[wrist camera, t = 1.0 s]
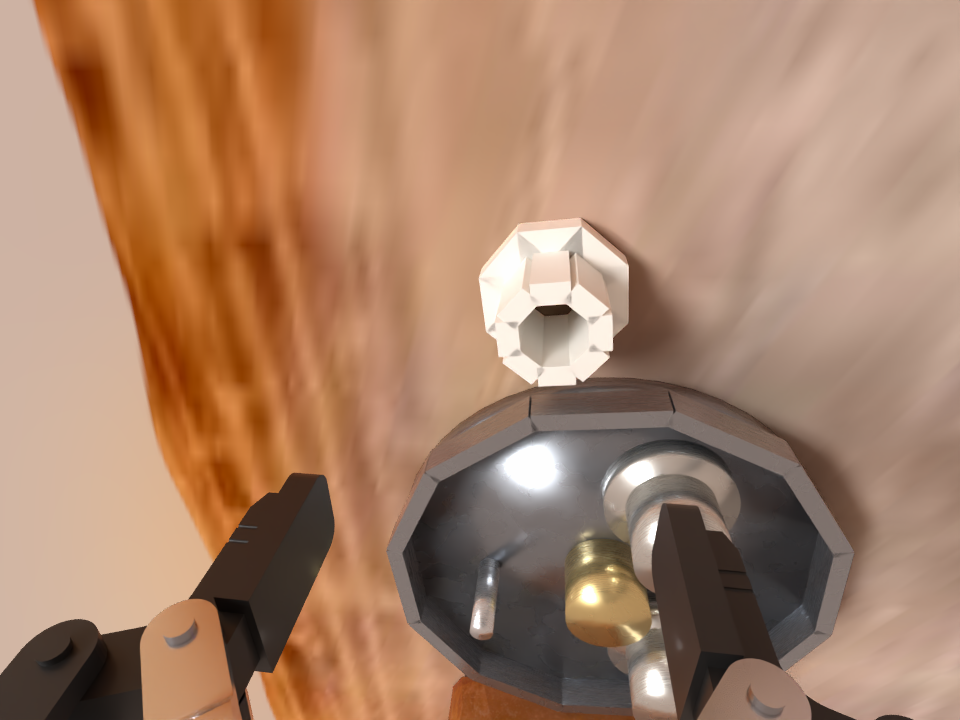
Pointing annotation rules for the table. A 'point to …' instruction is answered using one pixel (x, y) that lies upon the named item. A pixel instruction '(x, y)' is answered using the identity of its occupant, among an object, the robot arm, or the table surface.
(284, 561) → the robot arm
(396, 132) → the table surface
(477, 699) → the bread
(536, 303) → the white faceted ring
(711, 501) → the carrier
